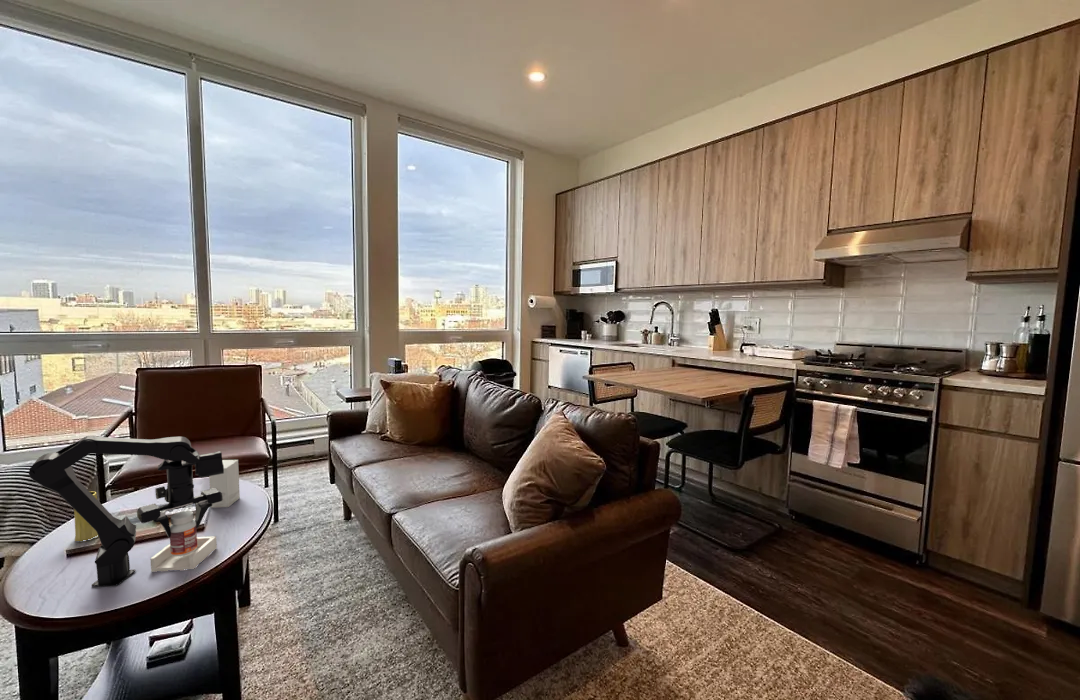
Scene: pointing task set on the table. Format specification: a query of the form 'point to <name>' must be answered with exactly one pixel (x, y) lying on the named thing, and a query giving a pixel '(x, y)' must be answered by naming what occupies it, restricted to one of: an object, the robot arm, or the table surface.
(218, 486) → the skincare box
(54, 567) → the table surface
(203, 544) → the end holder
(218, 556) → the table surface
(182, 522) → the pill bottle
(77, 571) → the table surface
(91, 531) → the vase
